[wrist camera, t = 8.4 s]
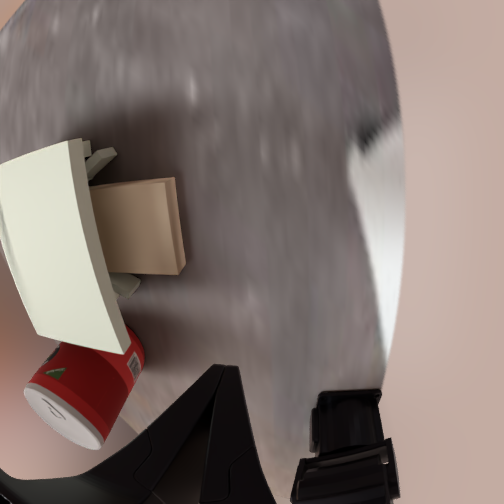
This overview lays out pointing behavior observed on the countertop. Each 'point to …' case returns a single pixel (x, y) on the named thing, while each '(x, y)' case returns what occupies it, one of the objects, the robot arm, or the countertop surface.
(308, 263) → the countertop surface
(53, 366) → the canned food
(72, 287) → the pale green angular bracket
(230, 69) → the countertop surface
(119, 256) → the panel
